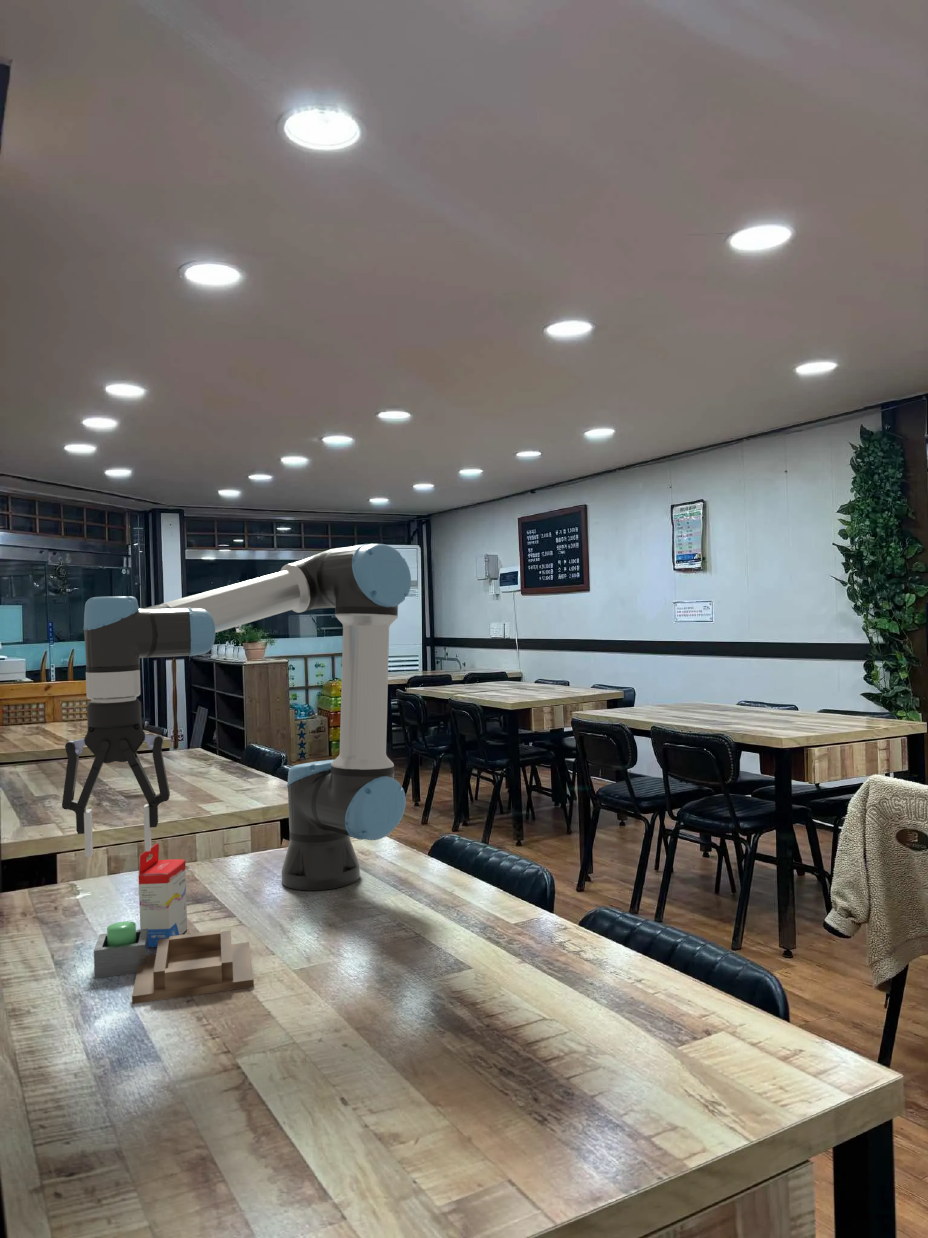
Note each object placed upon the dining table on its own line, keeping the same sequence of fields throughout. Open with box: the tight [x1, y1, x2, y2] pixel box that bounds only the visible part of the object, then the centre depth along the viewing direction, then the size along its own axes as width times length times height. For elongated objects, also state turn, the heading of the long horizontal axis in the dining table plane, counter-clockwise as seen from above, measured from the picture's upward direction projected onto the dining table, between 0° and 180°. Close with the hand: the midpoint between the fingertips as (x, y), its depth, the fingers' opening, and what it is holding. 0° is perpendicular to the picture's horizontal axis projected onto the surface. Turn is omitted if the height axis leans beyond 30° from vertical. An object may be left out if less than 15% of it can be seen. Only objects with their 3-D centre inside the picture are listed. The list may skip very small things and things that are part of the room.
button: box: [106, 920, 137, 947], centre depth 133 cm, size 4×4×3 cm
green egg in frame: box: [93, 928, 150, 979], centre depth 133 cm, size 7×7×4 cm
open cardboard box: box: [131, 929, 255, 1005], centre depth 129 cm, size 16×15×4 cm
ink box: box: [137, 842, 188, 948], centre depth 144 cm, size 8×5×15 cm, turn 179°
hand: (118, 851), depth 133 cm, fingers open, 8 cm apart
